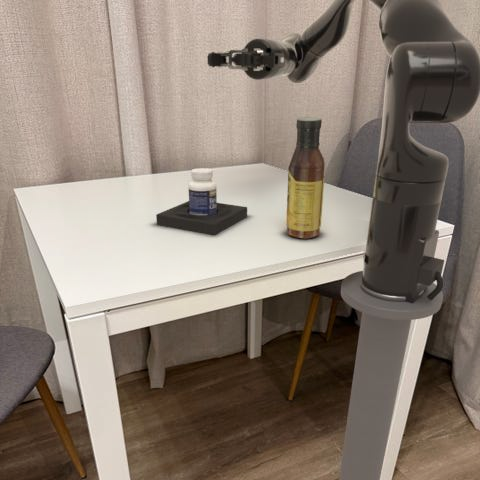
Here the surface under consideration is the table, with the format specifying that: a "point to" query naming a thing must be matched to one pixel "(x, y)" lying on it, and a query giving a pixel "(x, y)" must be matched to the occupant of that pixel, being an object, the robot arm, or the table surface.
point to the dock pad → (202, 218)
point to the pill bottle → (202, 192)
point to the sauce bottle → (305, 181)
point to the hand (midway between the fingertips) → (229, 60)
